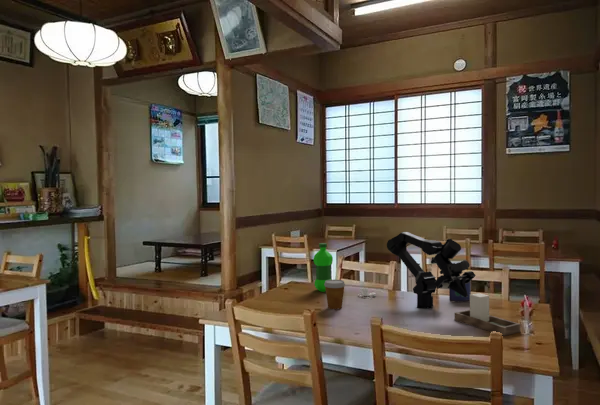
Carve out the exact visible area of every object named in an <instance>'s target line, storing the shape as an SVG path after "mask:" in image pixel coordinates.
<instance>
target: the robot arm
mask: <svg viewBox="0 0 600 405" xmlns="http://www.w3.org/2000/svg"><path fill="white" fill-rule="evenodd" d="M408 244H410V245H412V246H416V247H417V248H419V249H421V250H422V252H423V253H424V254H425V255H428V256H432V255H435V256H433V257H431V260H430V263H431V265H432V264H436V266H437V267H438V269H439V274H440V275H439V276H438V277H437V278H436V276H435V275H434V274H433V273H432V272H431V271H424V269H423V268H422V267H421V265H419V264H418V262H417V261H416V259H414V257H413V256H412V255H411V253H410V252H409V251H408V249H407V248H408V247H407V245H408ZM386 248H387V250H388V251H389V252H390V253H391V254H393V255H395V256H397V257H398V258H399V259H400V260H401V262H402V263H403V264H404V265H405V267H406V268H407V269H408V270H409V272H410V273H411V275H413V277H414V279H415V282H414V283H415V286H414V287H413V288H412V290H413V293H414V294H416V298H417V299H416V302H417V303H416V308H419V309H432V308H433V306H434V296H433V294H434V293H436V291H437V290H438V289H442V288H443V286H444V284H446V283H447V284H448V286H447V288H448V289H449V288H450V289H452V290H454V291H455V292H457V293H459V294H460V295H462V296H464V297H468V294H467V290H466V286H465V284H467V283H469V282H470V281H472V280H473V279H474V278H476V273H475V272H474V271H471V270H470V271H468V270H469V268H470V266H471V265H470V262H469V261H468V260H467V259H464V260H461V261H459V262H457V263H456V262H452V260H453V259H454V258H455V257H456V256H457V254H459V253H460V251H461V250H462V246H461V244H460V243H458V242H457V241H455V240H453V239H452V238H447V239H446V240H445V242H444V243H442V242H441V241H439V240H432V239H431V240H430V239H425V238H423V237H421V236H419V235H415V234H413V233H411V232H410V231H402V232H400V233H399V234H397V235H396V236H394V237H392V238H391V239H388V240H387V242H386ZM466 270H467V271H466ZM463 271H464V272H463Z"/></svg>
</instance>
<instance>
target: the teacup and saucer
mask: <svg viewBox="0 0 600 405" xmlns="http://www.w3.org/2000/svg"><path fill="white" fill-rule="evenodd" d="M359 292H360V293H359V294H363V295H362V297H363V299H369V297H371V296H372V297H371V298H373V297H375V296H376V294H377V293H376V292H370V293H369V288H367V287H362V289H360V291H359ZM364 296H367V297H364Z"/></svg>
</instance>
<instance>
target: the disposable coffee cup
mask: <svg viewBox="0 0 600 405" xmlns="http://www.w3.org/2000/svg"><path fill="white" fill-rule="evenodd" d="M324 285H325V289H326V292H325V294H326V295H325V296H326V301H327V302H326V303H327V309H330V310H340V309H342V308H343V302H344V293H345V291H344V290H345V286H346V283H345V281H344V280H342V279H331V280H326V281H325V284H324Z"/></svg>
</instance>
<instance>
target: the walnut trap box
mask: <svg viewBox="0 0 600 405" xmlns="http://www.w3.org/2000/svg"><path fill="white" fill-rule="evenodd" d="M453 320H454V321H456V322H459V323H463V324H465V325H469V326H472V327H475V328H478V329H481V330H484V331H488V332H490V331H496V332H500V333H502V334H503V335H502V336H503V337H506V336H509V335H510V336H511V335H514V334H518V333H521V332H522V331H521V329H522V328H521V327H522V326H521V323H519V322H514V321H513V320H512V321H511V320H508V319H506V318H502V317H501V318H500V317H498V316H495V315H490V314H489V321H483V320H480V319H477V318H473V317H470V309H467V310H465V309H464V310H462V311H456V312H454V319H453Z"/></svg>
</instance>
